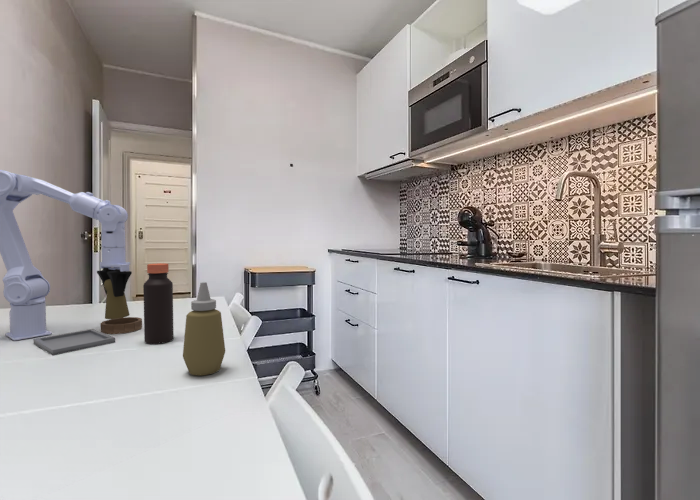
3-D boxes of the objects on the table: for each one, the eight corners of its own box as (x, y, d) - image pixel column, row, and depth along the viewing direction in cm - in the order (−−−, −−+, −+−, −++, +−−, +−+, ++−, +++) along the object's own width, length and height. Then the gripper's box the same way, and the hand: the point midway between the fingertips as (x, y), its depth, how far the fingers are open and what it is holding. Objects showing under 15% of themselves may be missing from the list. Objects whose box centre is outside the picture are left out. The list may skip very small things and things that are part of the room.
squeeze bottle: (190, 364, 79) (189, 280, 78) (229, 363, 80) (228, 280, 79) (176, 379, 71) (174, 285, 70) (219, 378, 72) (218, 285, 71)
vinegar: (152, 346, 92) (150, 265, 91) (139, 341, 96) (138, 264, 95) (178, 340, 98) (177, 264, 97) (165, 335, 102) (164, 262, 101)
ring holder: (95, 330, 107) (95, 321, 107) (132, 323, 115) (132, 315, 115) (109, 336, 101) (109, 327, 101) (147, 328, 109) (147, 320, 109)
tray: (33, 343, 94) (33, 338, 94) (92, 332, 104) (92, 328, 104) (52, 355, 85) (52, 350, 85) (115, 342, 95) (115, 337, 95)
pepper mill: (118, 319, 103) (115, 279, 102) (99, 319, 104) (96, 280, 103) (134, 314, 109) (131, 276, 108) (116, 313, 110) (113, 276, 109)
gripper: (140, 247, 104) (141, 296, 105) (118, 246, 113) (118, 291, 113) (112, 248, 98) (113, 299, 99) (91, 247, 107) (92, 294, 108)
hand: (114, 295), depth 106 cm, fingers closed on pepper mill, 5 cm apart
